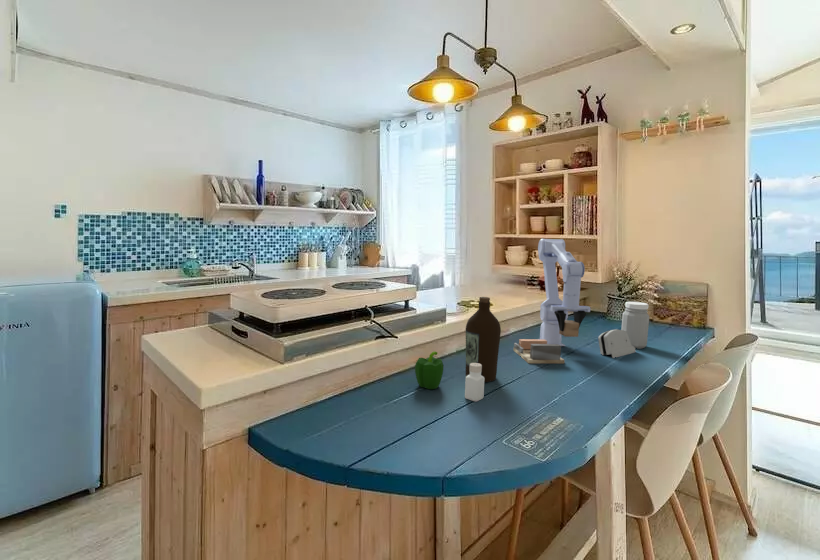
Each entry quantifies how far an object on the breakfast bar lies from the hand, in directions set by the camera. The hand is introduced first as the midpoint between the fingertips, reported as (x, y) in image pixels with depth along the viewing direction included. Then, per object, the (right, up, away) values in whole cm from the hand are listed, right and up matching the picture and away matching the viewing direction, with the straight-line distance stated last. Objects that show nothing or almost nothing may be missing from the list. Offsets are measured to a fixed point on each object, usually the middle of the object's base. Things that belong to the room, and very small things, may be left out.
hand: (568, 330), depth 157 cm
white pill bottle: (-42, -13, -43) cm, 62 cm away
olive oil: (-37, -12, -26) cm, 47 cm away
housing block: (0, -2, 0) cm, 2 cm away
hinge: (+21, -10, +7) cm, 24 cm away
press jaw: (-12, -7, +3) cm, 15 cm away
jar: (+33, -9, +18) cm, 39 cm away
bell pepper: (-53, -12, -35) cm, 65 cm away
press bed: (-12, -9, -2) cm, 15 cm away
